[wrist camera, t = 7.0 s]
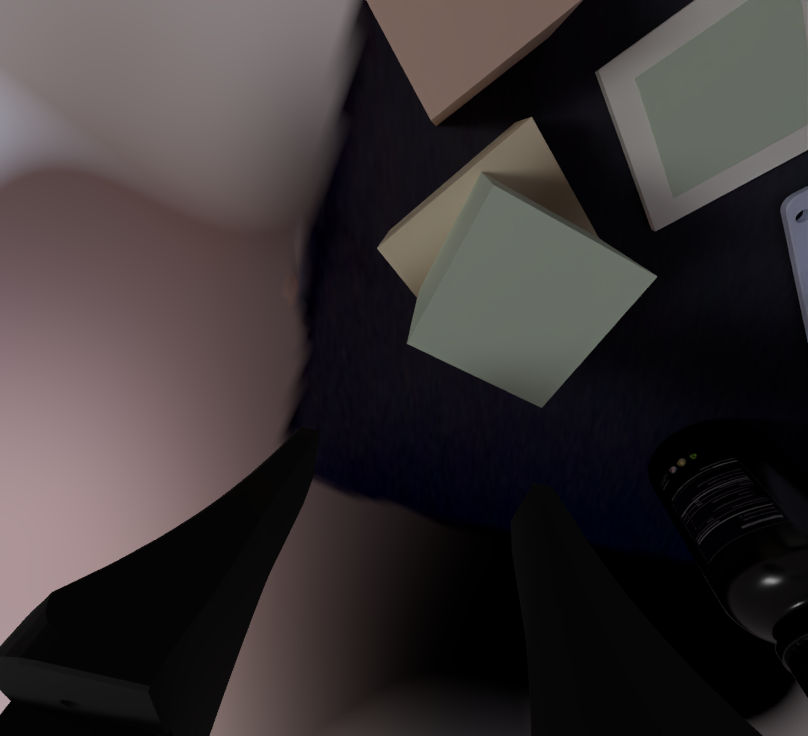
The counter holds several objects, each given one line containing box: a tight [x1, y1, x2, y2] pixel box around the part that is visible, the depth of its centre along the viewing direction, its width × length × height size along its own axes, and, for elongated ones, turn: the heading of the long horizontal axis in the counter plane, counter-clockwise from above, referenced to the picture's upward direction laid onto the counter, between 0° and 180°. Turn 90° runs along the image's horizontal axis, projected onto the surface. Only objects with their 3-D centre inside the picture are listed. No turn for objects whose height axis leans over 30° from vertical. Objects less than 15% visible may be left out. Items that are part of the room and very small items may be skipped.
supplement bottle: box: [648, 421, 808, 697], centre depth 18 cm, size 7×7×12 cm
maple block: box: [377, 117, 599, 298], centre depth 17 cm, size 7×7×4 cm
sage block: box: [407, 172, 657, 408], centre depth 13 cm, size 5×5×5 cm
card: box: [595, 0, 808, 231], centre depth 14 cm, size 7×7×1 cm
